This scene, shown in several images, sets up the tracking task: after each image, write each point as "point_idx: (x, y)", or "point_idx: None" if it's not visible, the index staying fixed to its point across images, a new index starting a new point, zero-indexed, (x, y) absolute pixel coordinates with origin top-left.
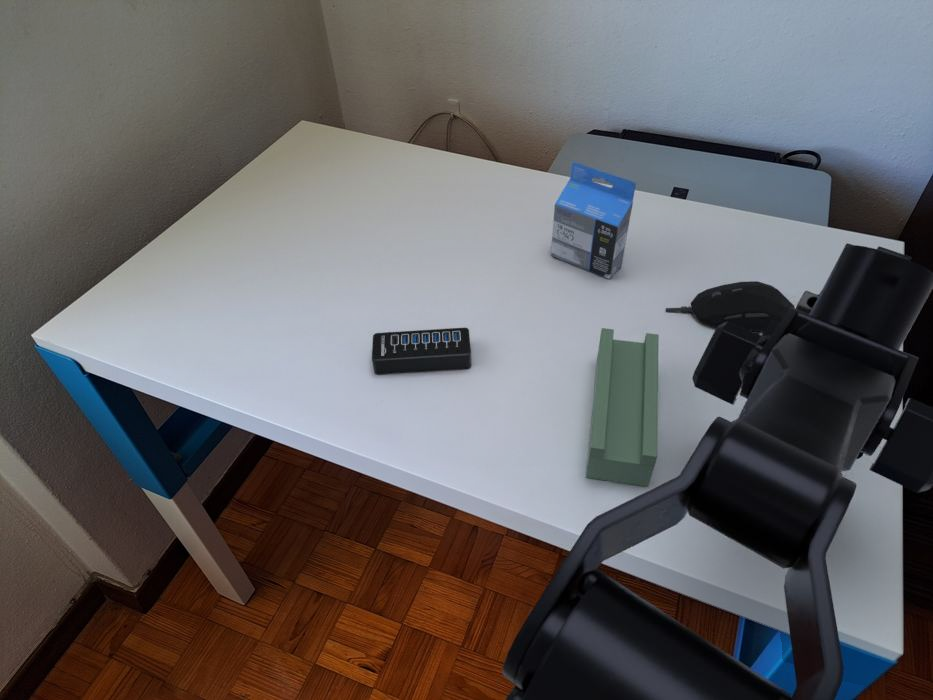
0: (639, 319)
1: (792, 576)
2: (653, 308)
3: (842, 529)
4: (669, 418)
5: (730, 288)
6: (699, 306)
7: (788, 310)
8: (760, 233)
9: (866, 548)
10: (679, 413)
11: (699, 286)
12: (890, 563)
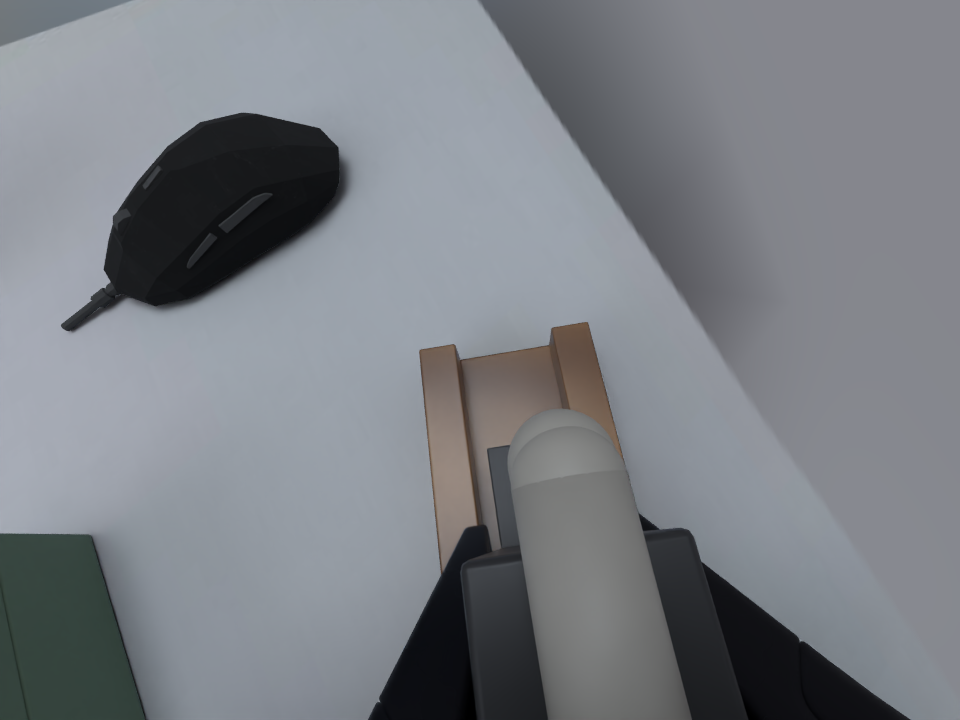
0: (15, 401)
1: None
2: (39, 342)
3: None
4: (207, 688)
5: (140, 183)
6: (118, 274)
7: (308, 149)
8: (189, 19)
9: None
10: (225, 643)
11: None
12: (956, 714)
